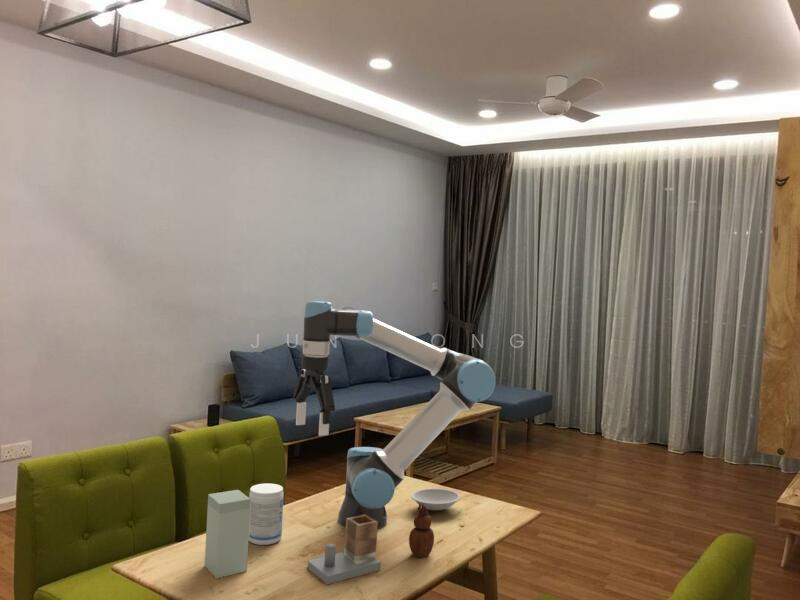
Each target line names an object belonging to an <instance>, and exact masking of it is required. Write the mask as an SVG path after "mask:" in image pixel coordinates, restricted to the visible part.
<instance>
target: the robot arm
mask: <svg viewBox="0 0 800 600" xmlns="http://www.w3.org/2000/svg"><path fill="white" fill-rule="evenodd" d="M303 320H304V321H303V338H302V339H303V341H302V342H303V343H302V344H301V345H302V354H303V356H302V357H301V368H302V369H299V373H298V379H297V381H296V382H297V383H296V384H295V388H294V392H293V394H292V398H293V399H294V400H295V402H296V410H295V411H296V412H295V413H296V414H295V415H296V417H295V426H304V425H306V415H307V397H308V396H309V394H310V392H311V390H313V392H315V393H316V397H317V400H318V404H319V407H320V410H319V421H318V423H319V424H318V436H319V437H323V436H329V431H330V418H331V412H334V411H336V407H335V400H334V395H333V391H332V389H333V388H332V386H331V382H332V381H331V378H332V377H331V375H325V371H327V370H329V365H330V364H329V363H330V361H329V360H330V358H329V356H328V355H330V349H331V348H330V347H331V346H330V345H331V343H330V342H331V341H330V340H331V336H342V337H343V336H344V337H355V338H356V339H357V338H358V339H360V340H362V341H364V342H367V344H371V345H373V346H375V347H377V348H379V349H381V350H384V351H385V352H388V353H390V354H392V355H394V356H396V357H399V358H401V359H403V360H406V361H408V362H409V363H412V364H414V365H417V366H418V367H421V368H423V369H424V370H428V371H429V372H430V375H431V376H432V377H435V378H437V379H439V380H440V383H439V391H438V392H437V393H436V394H435V395H434V396H433V397H432V398H431V399H430V400H429V401H428V402H427V403H426V405H424V407H423V408H422V409H421V410H420V411H418V413H417V414H416V415H415V416H414V417H413V418H412V419H411V420H410V421H409V422H408V423H407V424H406V425H405V426H404V427H403V428H402V429H401V430H400V431H399V433H398V434H396V436H395V437H393V439H392V440H391V441H390V442H389V443H388V444H387V445H386V446H385V447H384V448H380V447H373V446H372V447H371V446H356V447H351V448H349V449H348V450H347V456H346V474H345V475H346V477H345V478H346V479H345V493H344V498H343V501H342V504H341V507H340V509H339V511H338V518H337V519H338V520H337V521H338V524H340V526H342V527H344V528H346V518H350V517H355V516H360V515H364V514H365V515H367V516H369V517H370V518H372V519H374V520H375V521H377V522H378V526H377V530H378V529H382V528H384V527H385V526H386V524H387V520H388V514H387V510H386V506H387V505H388V504H389V503H390V502H391V501H392V499H393V497H394V495H395V492H396V491H395V490H396V488H397V487H398V486H399V485H400V484H401V483H402V481H404V479H405V471H406V470H407V468H408V467H410V465H411V464H412V463H413V462H414V461H415V460H416V459H417V458H418V457H419V456H420V455H421V454H422V453H423V452H424V451H425V450H426V448H428V446H430V445H431V444H432V442H433V441H434V440H435V439H436V438H437V437H438V436H439V435H440V434H441V433H442V432H443V431H444V430H445V428H447V426H449V424H450V423H451V422H452V421H453V420H454V419H455V418H456V417H457V416H458V415H459V413H461V412H463V411H464V412H466V411H468V412H469V411H470V409H472V408H473V407H474V406H475V404H477V402H483V401H485V400H487V399H488V398H489V397H490V396H491V395H492V394H493V392H494V391H495V388H496V381H497V379H496V375H495V372H494V370H493V368H492V367H491V366H490V365H489V364H488V363H486V362H485V361H484V360H482V359H480V358H476V357H474V356H471V355H468V354H465V353H461V352H457V351H454V350H451V349H449V348H447V347H440V348H439V347H436V346H435V345H433V344H430V343H429V342H426V341H424V340H422V339H419V338H417V337H415V336H413V335H411V334H408V333H406V332H404V331H401V330H400V329H398V328H396V327H393V326H391V325H389V324H387V323H384V322H382V321H380V320H378V319H376V318H374V314H373V312H372V311H370V310H363V309H361V310H360V309H356V308H353V307H348V306H347V307H343V308H341V309H337V308H333V304H332V302H330V301H321V300H310V301H307V302H306V303H305V306H304V316H303ZM383 526H384V527H383Z"/></svg>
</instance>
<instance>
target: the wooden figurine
mask: <svg viewBox="0 0 800 600" xmlns="http://www.w3.org/2000/svg"><path fill="white" fill-rule="evenodd" d="M417 508H418V509H417V514H416V515H415V516H414V517H413V526H414V527H413V528H412V529H411V530H410V533H409V536H408V537H409V538H408V545H409V549H410V552H411V554H412V555H413V556H414V557H416V556H417V558H426V557H428V556H429V555H430V554H431V552H432V550H433V548H434V543H435V542H434V541H435V534H434V530H433V529H432V528H431V526H432V517H431V516H430V515H429V513H428V512H429V511H428V509H427V508H426V506H424V503H422V507H421V505H420V503H419V504H418V507H417ZM425 556H426V557H425Z"/></svg>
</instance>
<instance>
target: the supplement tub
mask: <svg viewBox="0 0 800 600" xmlns="http://www.w3.org/2000/svg"><path fill="white" fill-rule="evenodd" d="M248 495H249V496H248V497H249V498H250V499H251V502H250V521H249V540H248V542H250V543H252V544H255V545H257V546H268V545H274V544H276V543H277V542H279V541H280V540H281V539H282V536H283V534H282V533H283V515H284V513H283V512H284V487H283V486H282V485H280V484H276V483H258V484H255V485H252V486H251V487H250V489H249V494H248Z"/></svg>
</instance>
